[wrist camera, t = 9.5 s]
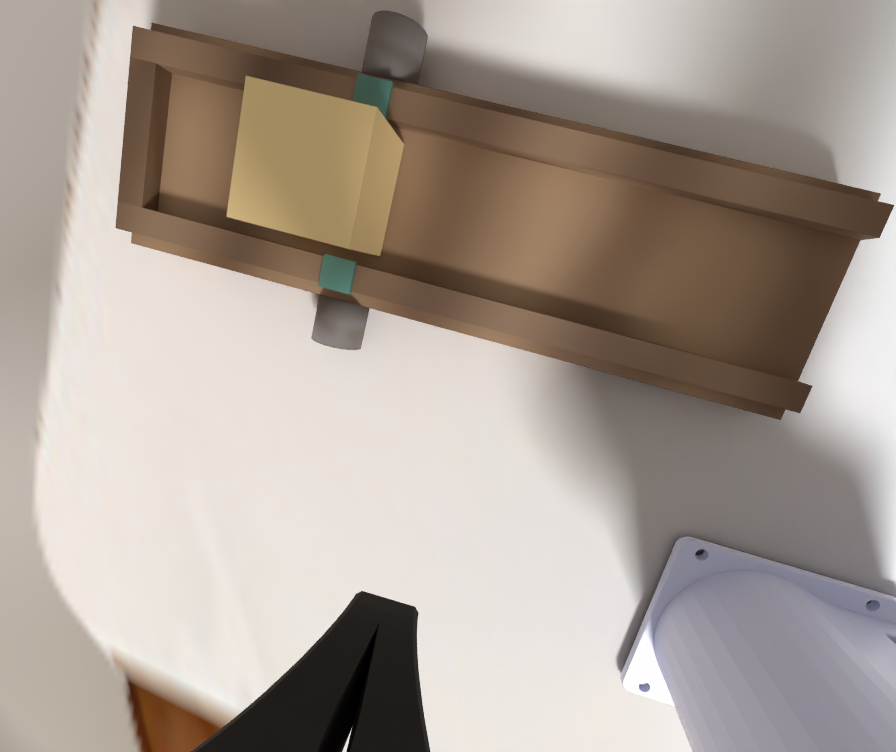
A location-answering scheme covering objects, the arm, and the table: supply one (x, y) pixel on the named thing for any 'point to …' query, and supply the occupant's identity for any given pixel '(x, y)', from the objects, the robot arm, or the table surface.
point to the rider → (314, 166)
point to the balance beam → (509, 223)
